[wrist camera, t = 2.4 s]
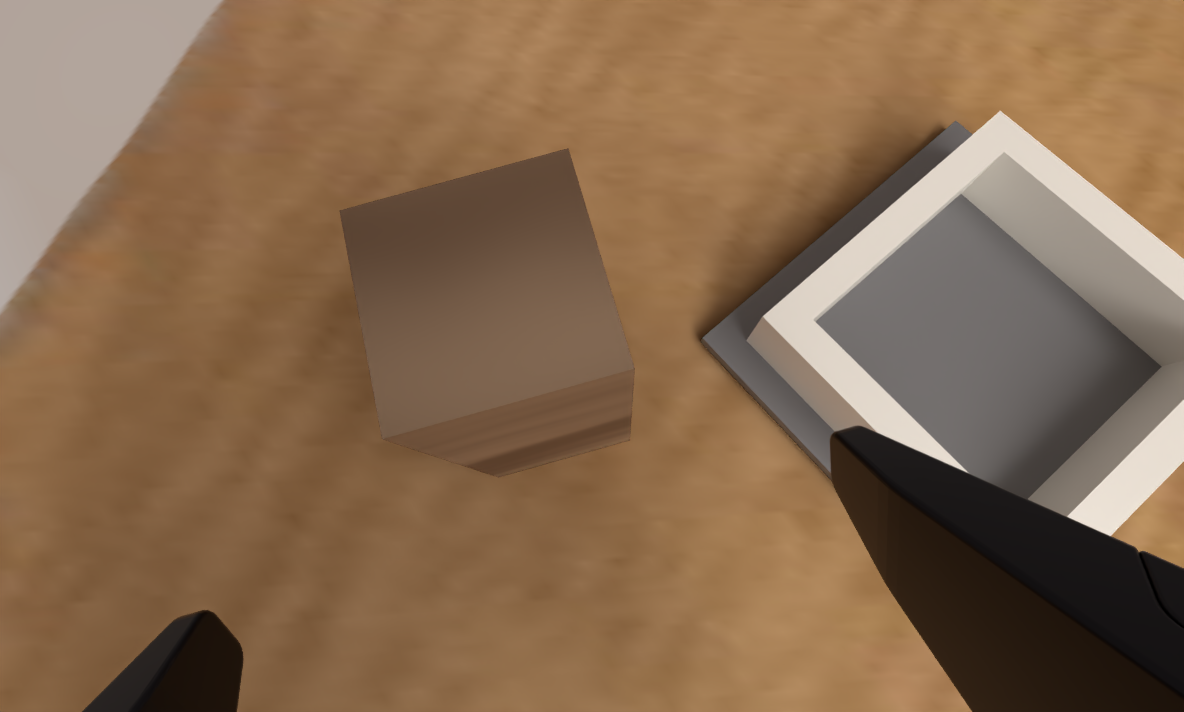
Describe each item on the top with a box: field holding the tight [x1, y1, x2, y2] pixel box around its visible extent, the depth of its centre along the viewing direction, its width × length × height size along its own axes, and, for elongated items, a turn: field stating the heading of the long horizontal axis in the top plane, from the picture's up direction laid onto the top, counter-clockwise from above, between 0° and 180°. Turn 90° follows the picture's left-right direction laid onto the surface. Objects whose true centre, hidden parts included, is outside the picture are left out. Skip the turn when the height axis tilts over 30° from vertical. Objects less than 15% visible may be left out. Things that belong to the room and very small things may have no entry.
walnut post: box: [340, 149, 635, 477], centre depth 16 cm, size 4×4×10 cm
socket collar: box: [701, 111, 1184, 536], centre depth 19 cm, size 12×12×3 cm
